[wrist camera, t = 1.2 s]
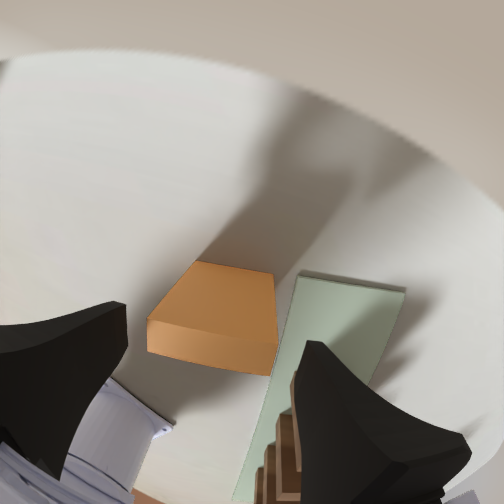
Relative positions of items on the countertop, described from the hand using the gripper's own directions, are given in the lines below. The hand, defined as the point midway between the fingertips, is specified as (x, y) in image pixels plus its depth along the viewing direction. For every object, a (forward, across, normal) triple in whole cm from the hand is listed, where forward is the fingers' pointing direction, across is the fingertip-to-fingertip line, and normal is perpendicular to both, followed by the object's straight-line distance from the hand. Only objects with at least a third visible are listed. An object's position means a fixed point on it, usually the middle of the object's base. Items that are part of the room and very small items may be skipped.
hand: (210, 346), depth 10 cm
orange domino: (+8, 0, 0) cm, 8 cm away
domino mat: (+8, -8, +16) cm, 20 cm away
